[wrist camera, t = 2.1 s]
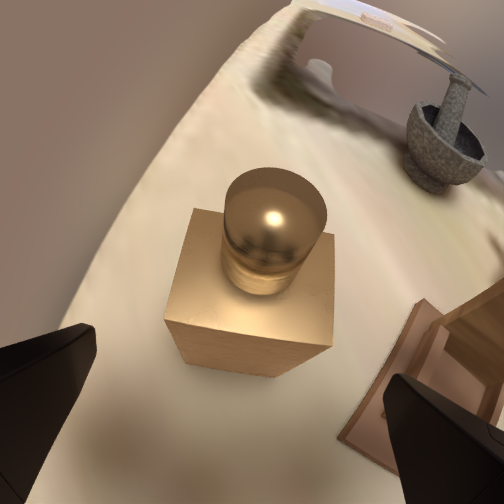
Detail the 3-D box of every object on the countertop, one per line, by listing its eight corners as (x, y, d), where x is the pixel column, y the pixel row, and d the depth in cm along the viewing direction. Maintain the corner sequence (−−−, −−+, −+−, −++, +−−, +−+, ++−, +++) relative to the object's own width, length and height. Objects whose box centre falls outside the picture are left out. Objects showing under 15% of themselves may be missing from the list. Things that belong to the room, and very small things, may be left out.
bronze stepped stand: (442, 499, 13) (543, 507, 4) (337, 437, 16) (445, 445, 7) (496, 377, 19) (583, 342, 10) (415, 303, 21) (504, 236, 13)
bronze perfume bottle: (274, 377, 18) (376, 318, 7) (185, 363, 17) (146, 280, 7) (281, 312, 20) (365, 184, 9) (198, 297, 20) (192, 149, 9)
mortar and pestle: (461, 219, 27) (526, 146, 17) (391, 186, 28) (451, 92, 17) (447, 156, 33) (491, 91, 23) (388, 127, 33) (426, 51, 23)
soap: (363, 23, 64) (366, 15, 62) (359, 18, 67) (362, 11, 65) (390, 33, 65) (393, 25, 62) (385, 28, 68) (388, 20, 65)
